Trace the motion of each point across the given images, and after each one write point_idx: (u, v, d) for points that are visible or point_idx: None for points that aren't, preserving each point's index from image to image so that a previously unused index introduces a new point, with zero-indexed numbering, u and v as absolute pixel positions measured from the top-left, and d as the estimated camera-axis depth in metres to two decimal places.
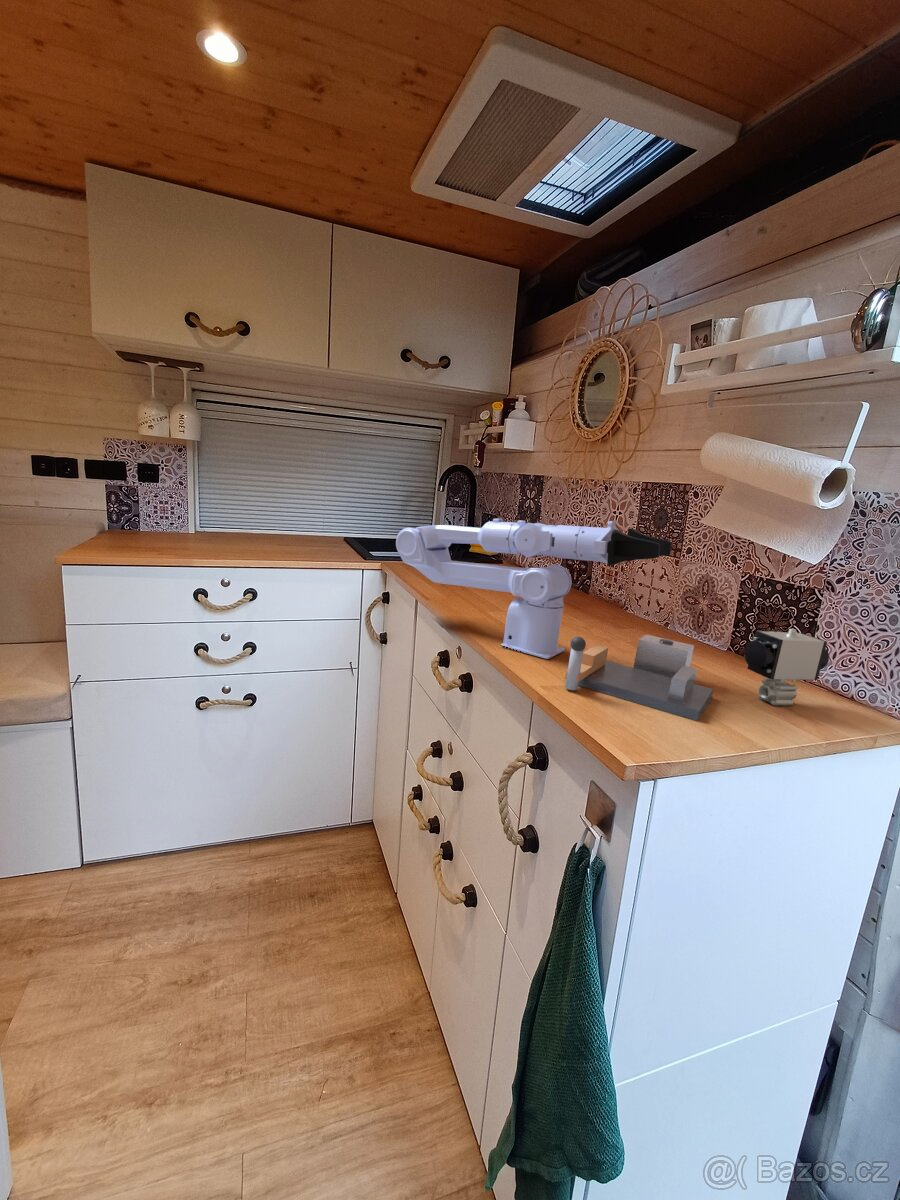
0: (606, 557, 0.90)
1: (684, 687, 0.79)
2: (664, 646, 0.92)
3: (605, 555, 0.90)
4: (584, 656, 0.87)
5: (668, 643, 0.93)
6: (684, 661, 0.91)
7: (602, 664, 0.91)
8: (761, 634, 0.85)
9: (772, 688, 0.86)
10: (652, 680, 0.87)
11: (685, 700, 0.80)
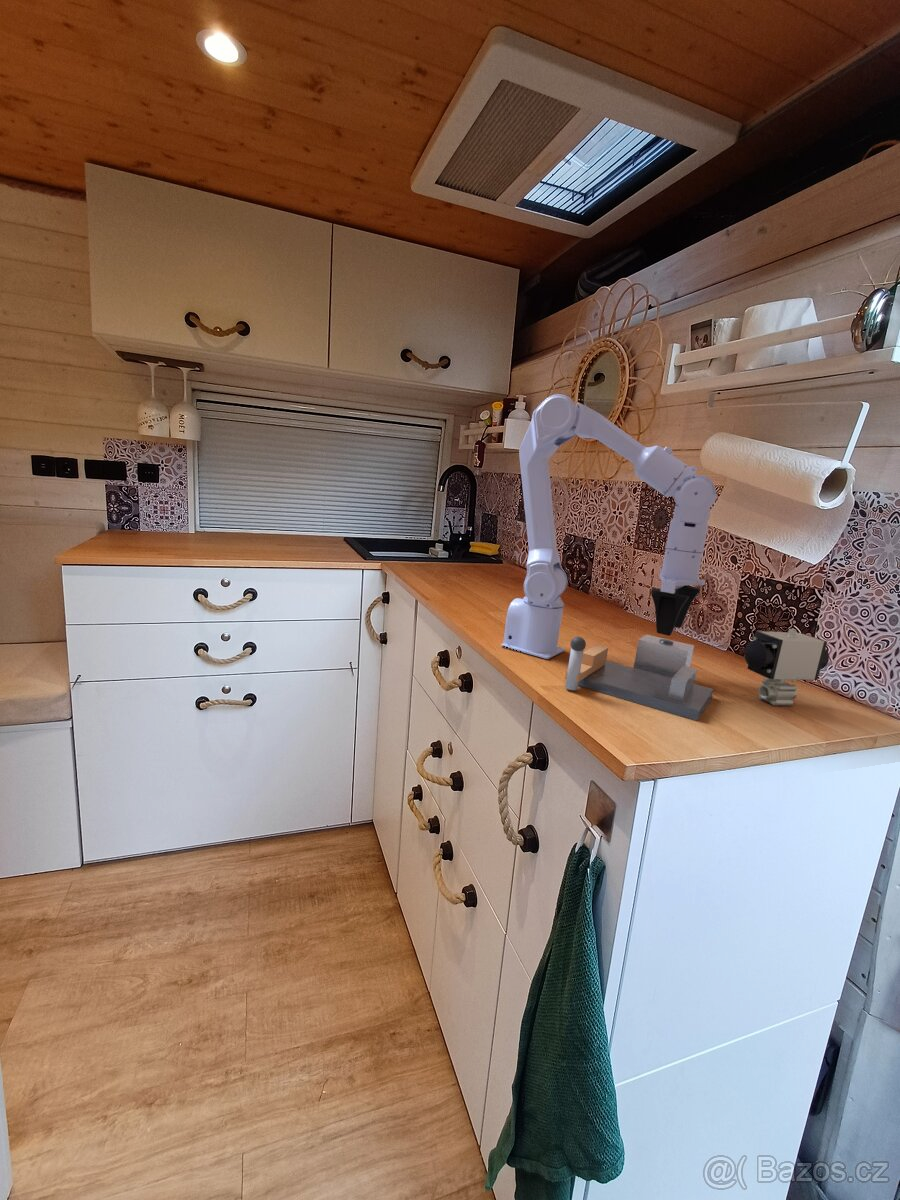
0: None
1: (684, 687, 0.79)
2: (664, 646, 0.92)
3: None
4: (584, 656, 0.87)
5: (668, 643, 0.93)
6: (684, 661, 0.91)
7: (602, 664, 0.91)
8: (761, 634, 0.85)
9: (772, 688, 0.86)
10: (652, 680, 0.87)
11: (685, 700, 0.80)
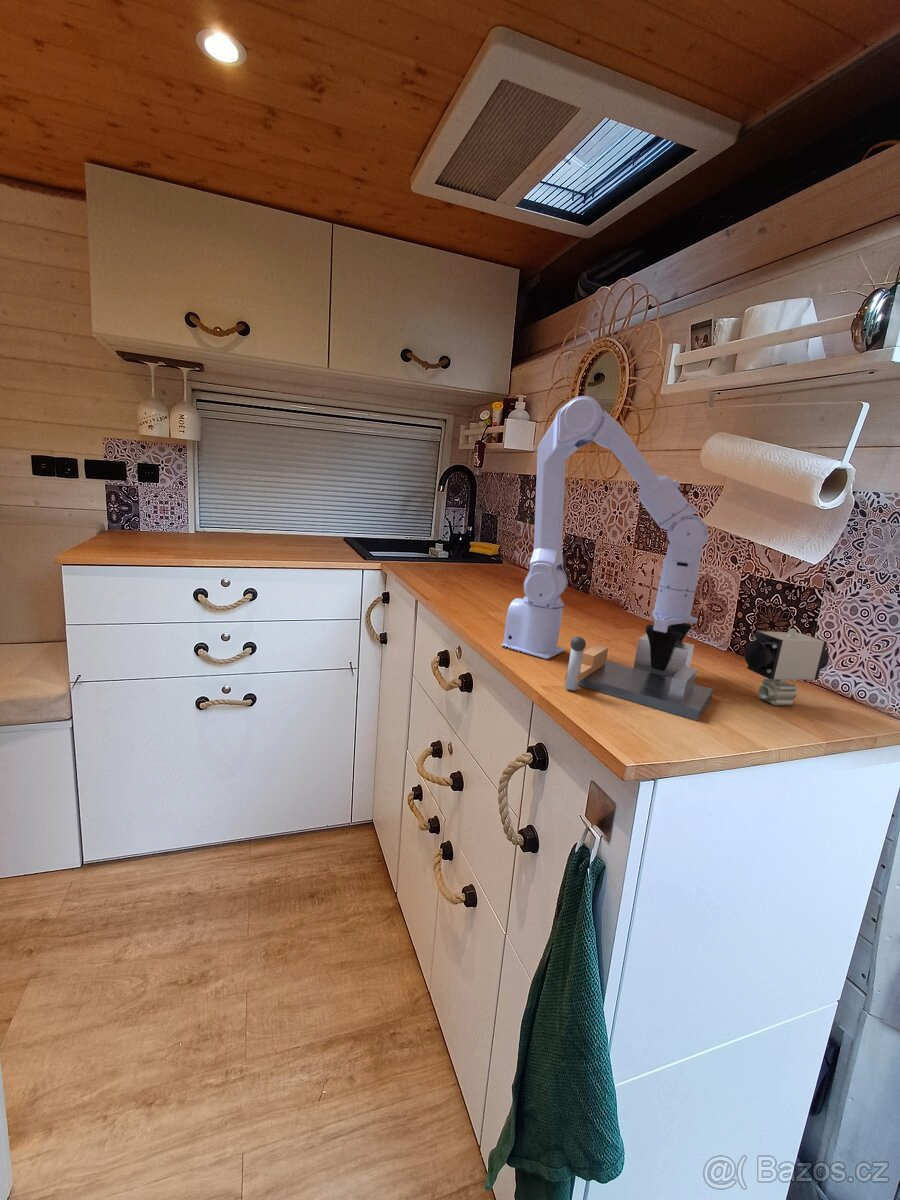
0: None
1: (684, 687, 0.79)
2: None
3: None
4: (584, 656, 0.87)
5: None
6: (684, 660, 0.91)
7: (602, 664, 0.91)
8: (761, 634, 0.85)
9: (772, 688, 0.86)
10: (652, 680, 0.87)
11: (685, 700, 0.80)
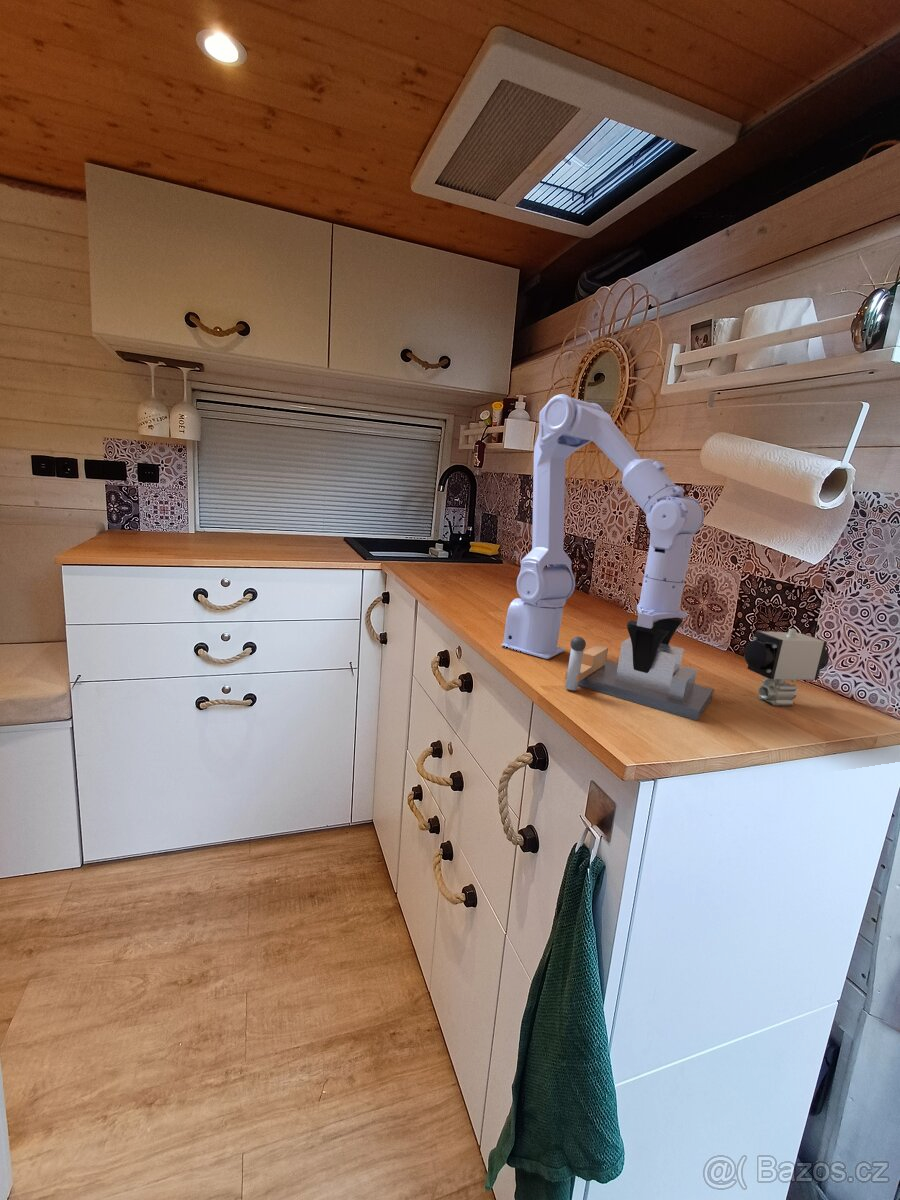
0: None
1: (684, 687, 0.79)
2: None
3: None
4: (584, 656, 0.87)
5: None
6: (672, 666, 0.81)
7: (602, 664, 0.91)
8: (761, 634, 0.85)
9: (772, 688, 0.86)
10: None
11: (685, 700, 0.80)
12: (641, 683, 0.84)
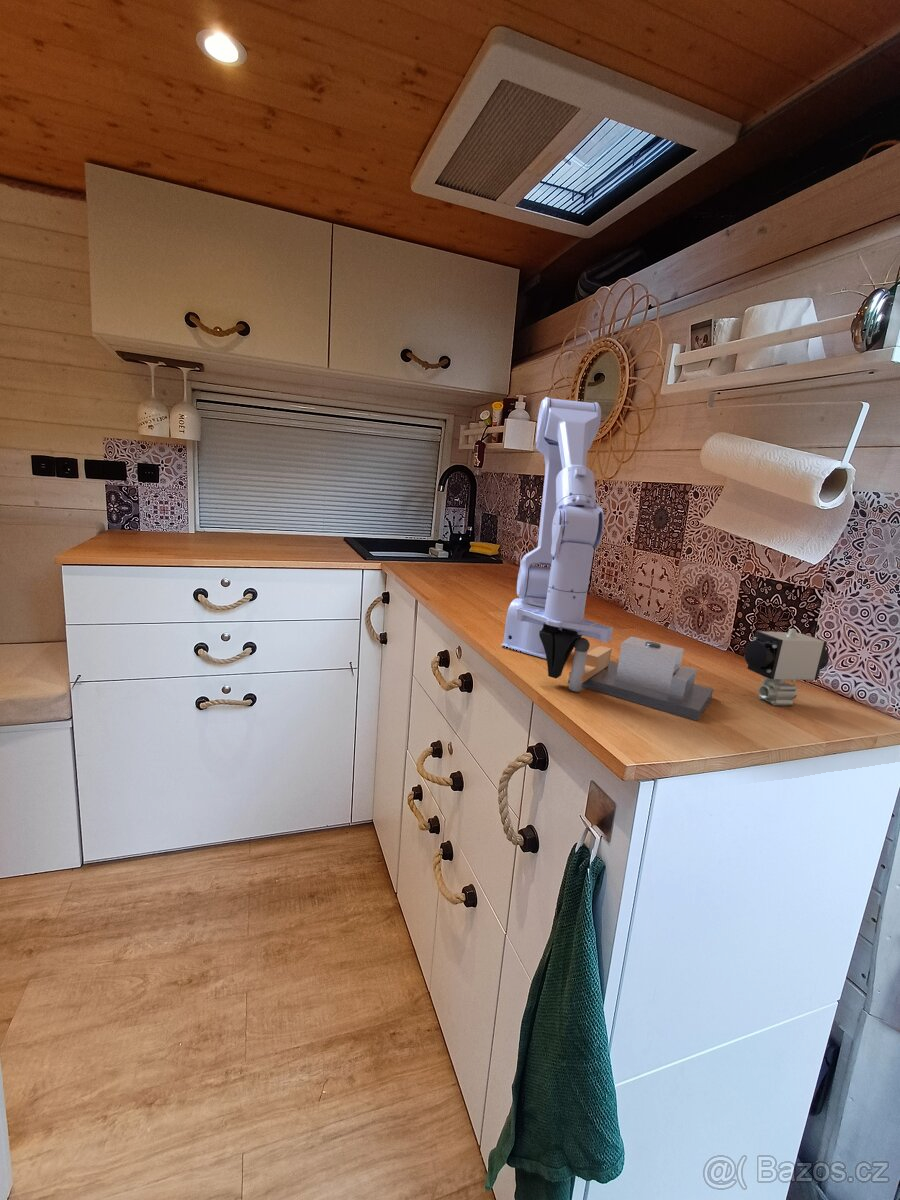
0: None
1: (684, 687, 0.79)
2: (650, 650, 0.82)
3: None
4: (588, 657, 0.87)
5: (655, 646, 0.84)
6: (672, 666, 0.81)
7: (605, 665, 0.91)
8: (761, 634, 0.85)
9: (772, 688, 0.86)
10: None
11: (685, 700, 0.80)
12: (641, 683, 0.84)
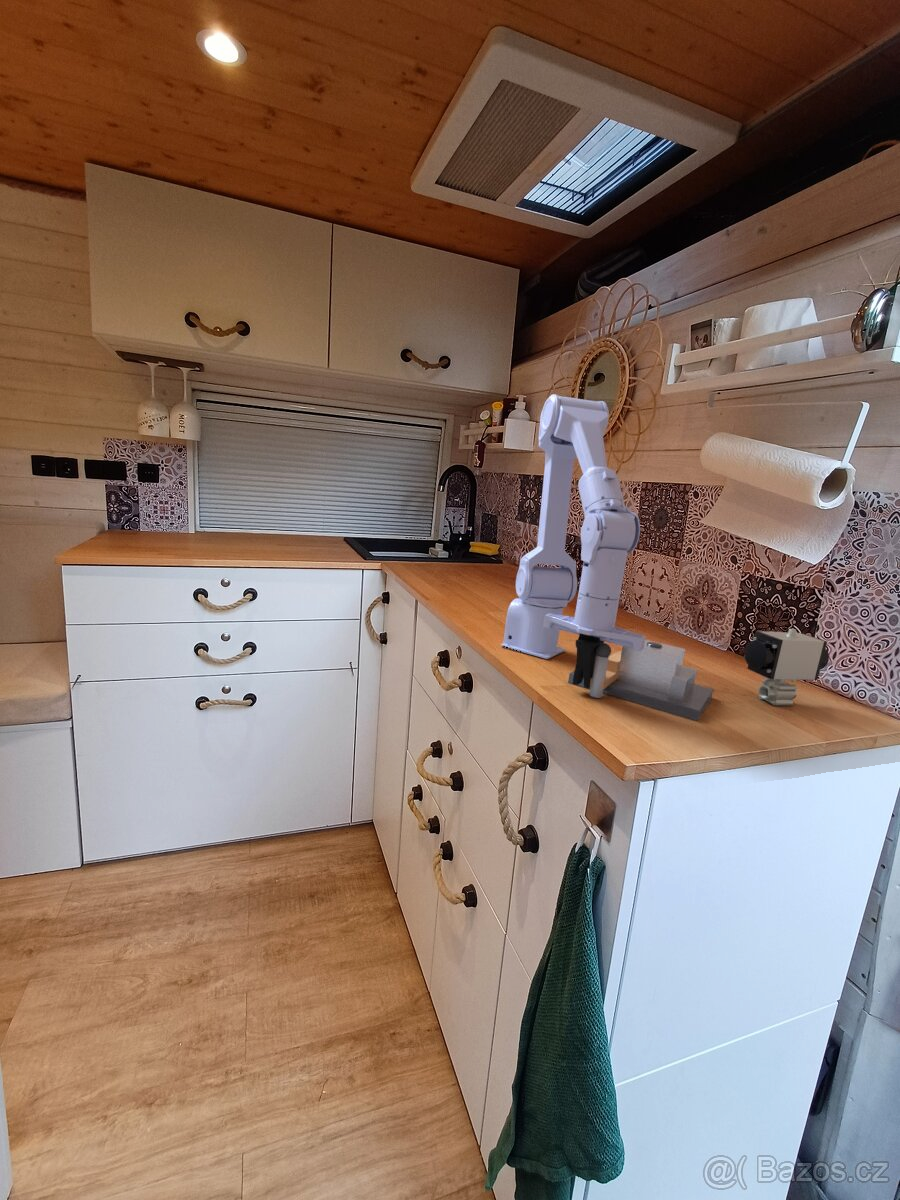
0: None
1: (684, 687, 0.79)
2: (651, 650, 0.82)
3: None
4: (608, 662, 0.85)
5: (656, 647, 0.83)
6: (674, 667, 0.81)
7: None
8: (761, 634, 0.85)
9: (772, 688, 0.86)
10: None
11: (685, 700, 0.80)
12: (642, 683, 0.84)
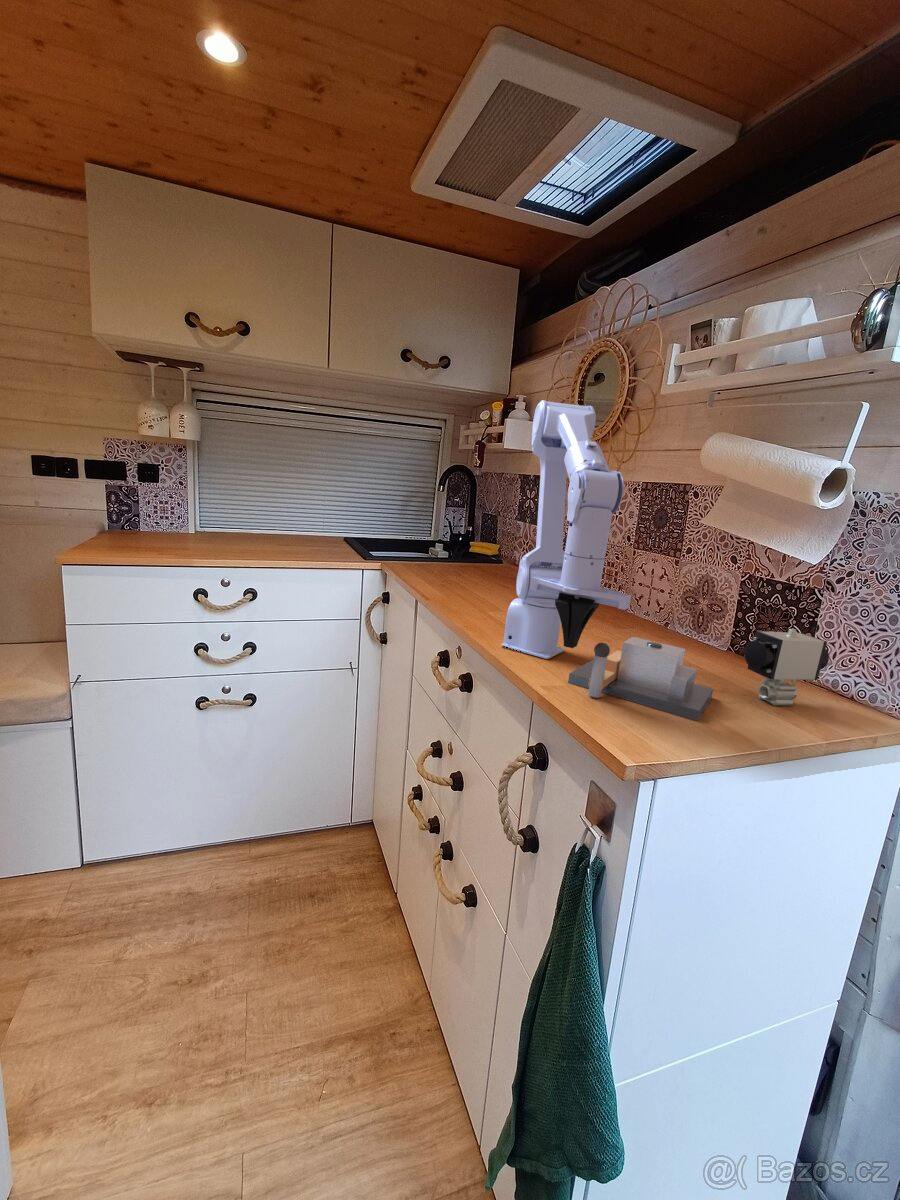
0: None
1: (684, 687, 0.79)
2: (651, 650, 0.82)
3: None
4: (607, 662, 0.85)
5: (656, 647, 0.83)
6: (674, 667, 0.81)
7: None
8: (761, 634, 0.85)
9: (772, 688, 0.86)
10: None
11: (685, 700, 0.80)
12: (642, 683, 0.84)
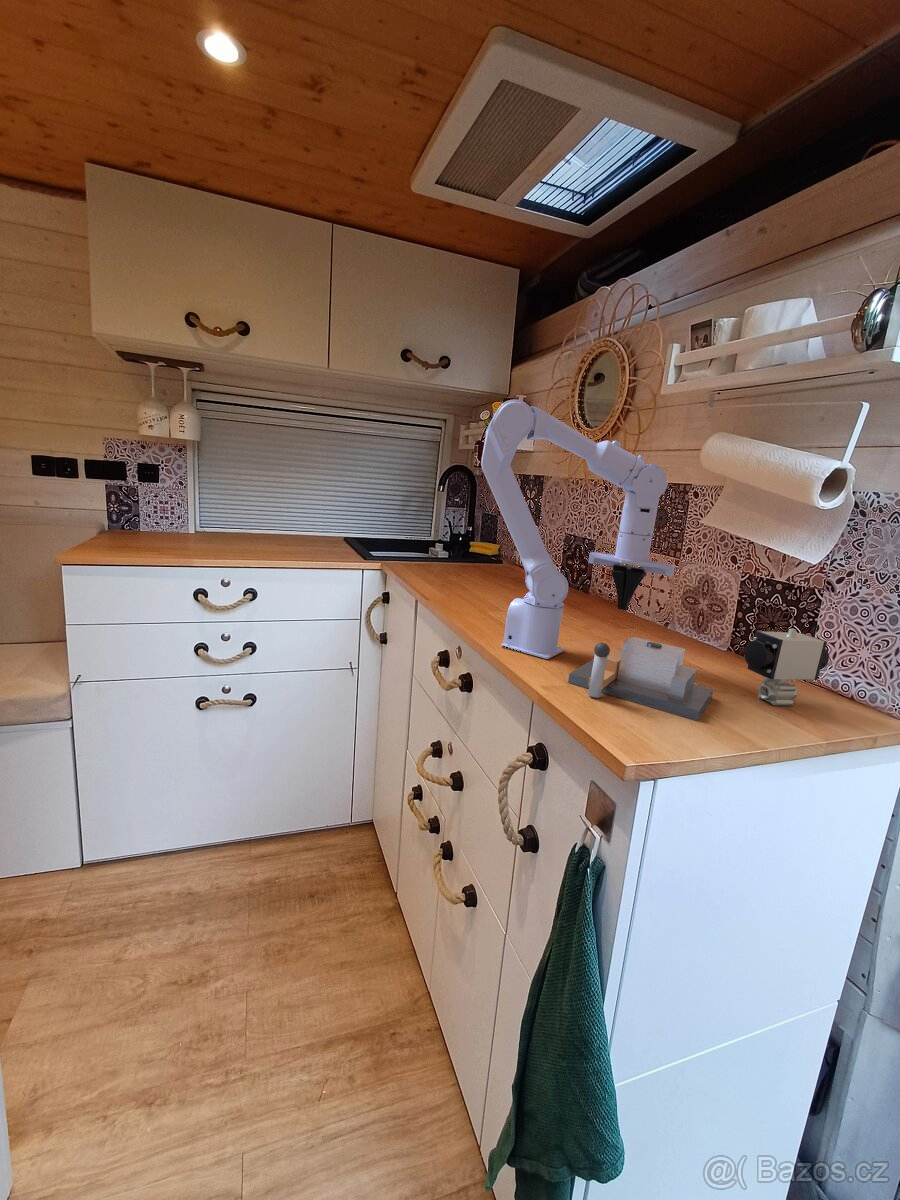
0: None
1: (684, 687, 0.79)
2: (651, 650, 0.82)
3: None
4: (607, 662, 0.85)
5: (656, 647, 0.83)
6: (674, 667, 0.81)
7: None
8: (761, 634, 0.85)
9: (772, 688, 0.86)
10: None
11: (685, 700, 0.80)
12: (642, 683, 0.84)
